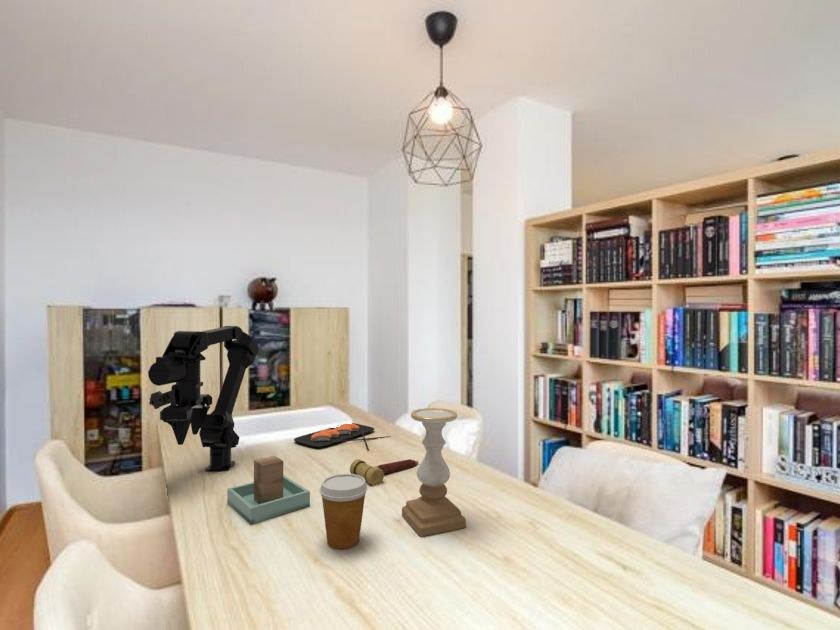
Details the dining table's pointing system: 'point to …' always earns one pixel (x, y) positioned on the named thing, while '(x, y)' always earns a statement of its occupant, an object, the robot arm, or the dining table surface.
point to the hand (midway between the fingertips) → (188, 439)
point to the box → (254, 512)
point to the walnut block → (268, 479)
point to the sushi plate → (336, 435)
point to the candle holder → (433, 480)
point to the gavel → (378, 469)
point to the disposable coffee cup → (343, 509)
